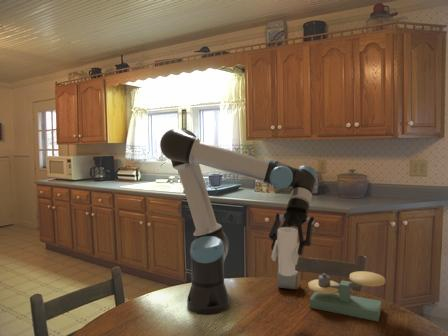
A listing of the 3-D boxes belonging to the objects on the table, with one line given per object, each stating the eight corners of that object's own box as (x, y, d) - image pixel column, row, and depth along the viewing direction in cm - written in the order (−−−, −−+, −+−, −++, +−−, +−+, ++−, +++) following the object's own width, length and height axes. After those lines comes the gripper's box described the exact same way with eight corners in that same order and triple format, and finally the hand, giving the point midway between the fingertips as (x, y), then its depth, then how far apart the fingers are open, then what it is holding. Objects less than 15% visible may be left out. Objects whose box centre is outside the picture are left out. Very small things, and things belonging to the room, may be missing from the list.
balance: (304, 307, 123) (304, 273, 122) (312, 295, 133) (312, 263, 132) (383, 324, 111) (383, 286, 110) (385, 309, 121) (386, 274, 120)
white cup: (284, 279, 113) (285, 233, 112) (272, 272, 119) (273, 228, 118) (301, 275, 116) (302, 230, 115) (288, 268, 122) (289, 226, 121)
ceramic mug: (297, 293, 135) (297, 273, 134) (276, 290, 138) (276, 270, 137) (301, 283, 145) (301, 264, 144) (282, 280, 148) (282, 262, 147)
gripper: (328, 211, 125) (315, 271, 112) (275, 206, 135) (258, 261, 122) (325, 199, 120) (311, 260, 107) (270, 195, 129) (252, 250, 116)
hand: (283, 260), depth 114 cm, fingers closed on white cup, 7 cm apart
